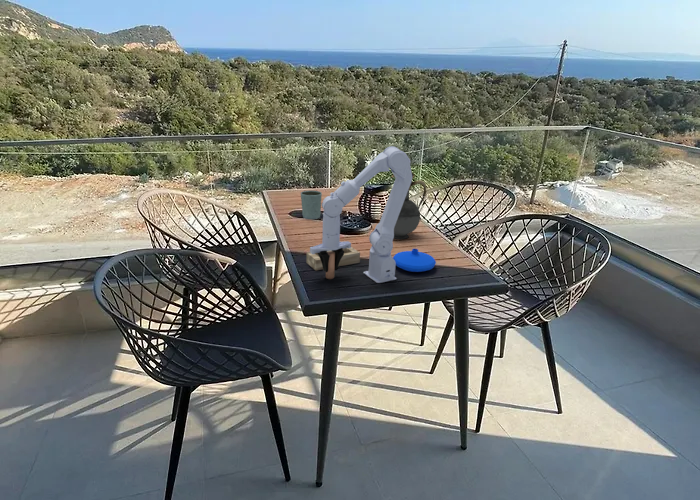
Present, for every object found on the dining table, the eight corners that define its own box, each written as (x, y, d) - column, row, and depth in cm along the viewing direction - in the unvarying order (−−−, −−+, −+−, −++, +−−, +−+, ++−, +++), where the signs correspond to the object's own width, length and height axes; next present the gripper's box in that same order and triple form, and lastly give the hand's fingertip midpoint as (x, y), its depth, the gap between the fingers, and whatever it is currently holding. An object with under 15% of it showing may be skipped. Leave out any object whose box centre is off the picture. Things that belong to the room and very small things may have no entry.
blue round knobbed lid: (401, 278, 157) (403, 259, 154) (385, 261, 171) (387, 243, 168) (442, 274, 161) (444, 256, 158) (423, 258, 175) (425, 241, 173)
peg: (335, 278, 154) (336, 253, 151) (328, 279, 153) (328, 255, 150) (331, 274, 157) (332, 250, 153) (324, 276, 155) (324, 252, 152)
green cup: (320, 220, 215) (320, 195, 211) (299, 219, 215) (299, 194, 211) (322, 214, 225) (322, 190, 220) (301, 213, 225) (301, 189, 220)
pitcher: (378, 234, 199) (382, 166, 188) (415, 230, 206) (421, 165, 195) (389, 242, 190) (394, 171, 179) (428, 238, 197) (435, 169, 186)
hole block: (359, 262, 168) (360, 252, 166) (315, 270, 159) (316, 260, 158) (349, 255, 174) (349, 245, 173) (306, 262, 166) (306, 252, 164)
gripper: (344, 226, 155) (343, 262, 160) (306, 231, 149) (305, 269, 153) (354, 232, 150) (353, 269, 155) (315, 238, 143) (314, 277, 148)
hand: (330, 270), depth 154 cm, fingers closed on peg, 3 cm apart
